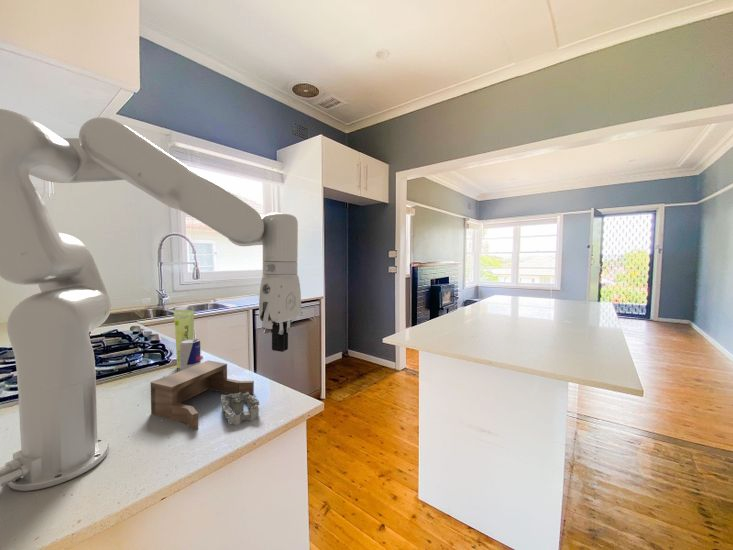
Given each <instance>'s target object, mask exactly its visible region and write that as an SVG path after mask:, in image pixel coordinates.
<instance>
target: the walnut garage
mask: <svg viewBox="0 0 733 550" xmlns="http://www.w3.org/2000/svg"><path fill="white" fill-rule="evenodd" d="M254 382H255V380H236V379H232V378H228V363H223V362H219V361H213V360H205V361H202V362H201V363H200V364H197V365H195V366H192V367H189V368H187V369H184V370H182V371H180V370H179V371H176V372H174V373H171V374H169V375H166V376H164V377H161V378H159V379H156V380H153V381H151V382H150V414H151V415H154V416H159V417H160V418H161V417H162V418H166V419H169V420H172V421H177V422H179V423H183V424H187V425H188V427H189V428H190V429H191V431H194V430H197V429H199V412H198V411H197V409H195V407H194V406H193V405H188V404H184V402H185V401H187V400H189V399H191V398H193V397H195V396H197V395H199V394H202V393H203V392H205V391H208V390H213V391H216V390H217V392H221V393H226V394H234V393H237V394H238V393H240V392H241V393H242V394H245V393H246V392H249V394H250V395H251V396H254V392H255V390H254V389H255V386H254V384H255V383H254ZM207 389H208V390H207ZM182 402H183V403H182Z"/></svg>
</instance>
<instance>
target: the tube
mask: <svg viewBox="0 0 733 550" xmlns="http://www.w3.org/2000/svg"><path fill="white" fill-rule="evenodd" d="M172 311H173V318H174V331H175V332H174V334H175V344H176V345H175V350H176V367H177V369H180V343H181V341H182V340H186V339H195V338H194V336H195V335H194V334H195V333H194V332H195V331H194V328H195V327H194V325H195V323H194V322H195V310H194V309H193V310H192V309H188V310H187V309H173V310H172Z"/></svg>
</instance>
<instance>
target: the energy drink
mask: <svg viewBox="0 0 733 550" xmlns="http://www.w3.org/2000/svg"><path fill="white" fill-rule="evenodd" d="M201 359H202V358H201V340H200V339H199V338H194V339H186V340H182V341H181V343H180V368H179V369H180V370H179V371H182V370H184V369H187V368H189V367H192V366H195V365H197V364H200V363H202V361H201Z"/></svg>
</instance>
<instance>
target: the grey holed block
mask: <svg viewBox="0 0 733 550" xmlns="http://www.w3.org/2000/svg"><path fill="white" fill-rule="evenodd" d="M220 401H221V402H220V403H221V412H224V418H225V417H228V418H227V424H228V423H229V424H228V425H241V422H243V421H246V419H247V420H248V419H249V420H250V421H255V420H256V418H257V417H258V416H259V412H260V410H259V409H260V408H259V406H260V401H259V400H258V399H257V398H256V397H255V396H254V395H250V394H249V392H246V393H245V394H242V393H241V392H240V393H238V394H237V393H234V394H230V393H228V394H221V395H220ZM244 403H246V404H247V408H248V409H249V410H246V411H244ZM230 405H231V406H230ZM232 407H233V409H232ZM234 411H235V412H234ZM239 411H240V413H239ZM237 413H238V414H237ZM254 419H255V420H254ZM242 420H243V421H242ZM230 423H231V424H230ZM232 423H233V424H232Z"/></svg>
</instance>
